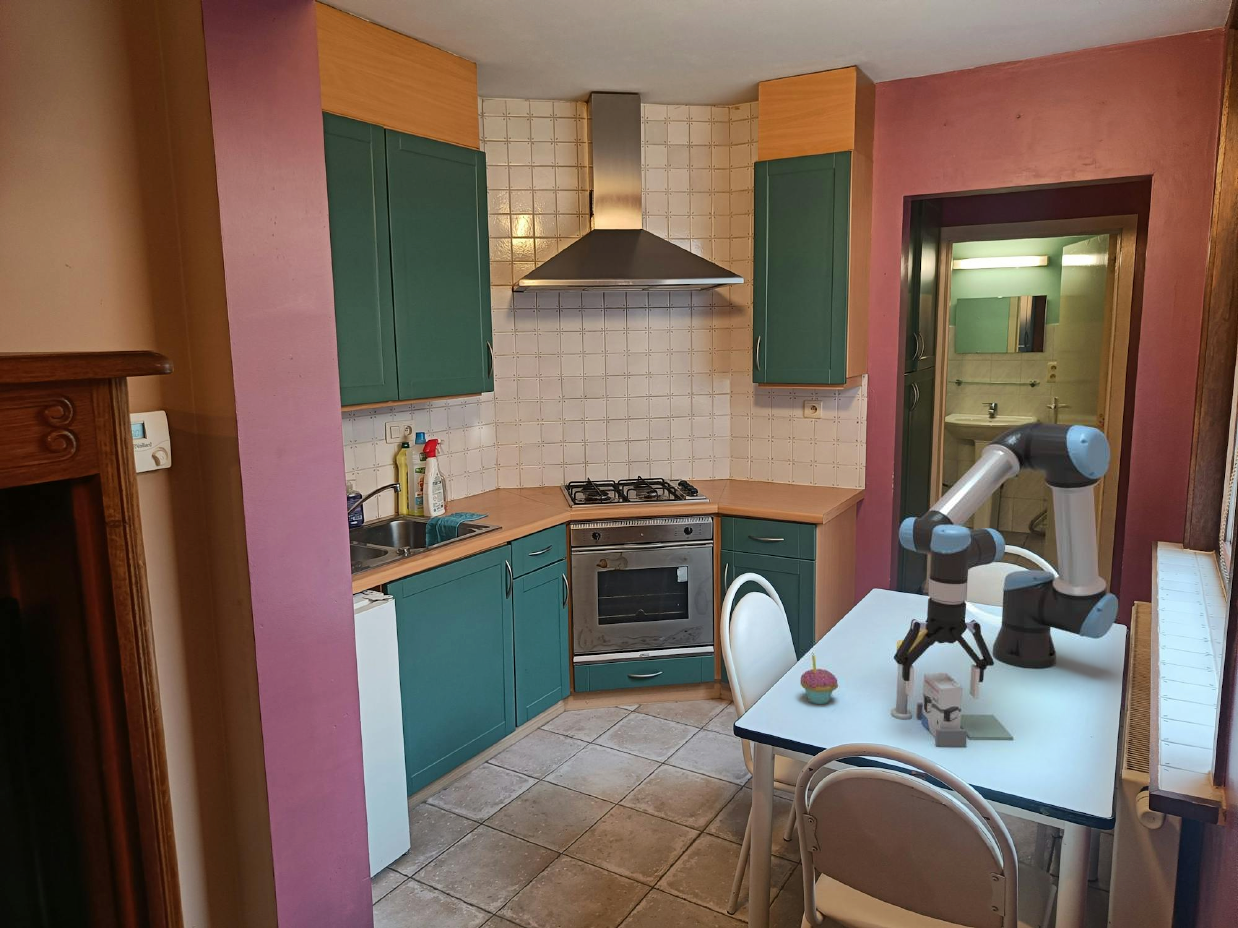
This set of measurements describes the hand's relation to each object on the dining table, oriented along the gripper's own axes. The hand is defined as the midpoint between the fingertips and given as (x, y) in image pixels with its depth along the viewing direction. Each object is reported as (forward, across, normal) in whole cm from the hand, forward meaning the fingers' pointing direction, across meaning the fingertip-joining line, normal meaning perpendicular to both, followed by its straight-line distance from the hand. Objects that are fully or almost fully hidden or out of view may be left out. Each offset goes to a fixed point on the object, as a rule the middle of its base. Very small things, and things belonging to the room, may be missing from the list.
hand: (941, 695), depth 185 cm
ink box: (+8, 0, 0) cm, 9 cm away
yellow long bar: (-6, +2, -13) cm, 14 cm away
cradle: (+8, +2, -2) cm, 9 cm away
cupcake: (+8, +23, -16) cm, 29 cm away
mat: (+8, -10, -2) cm, 13 cm away
